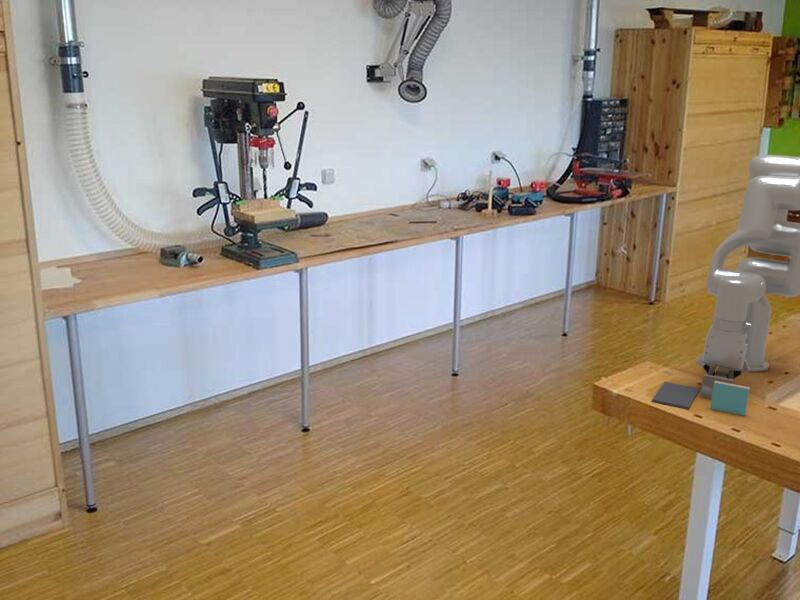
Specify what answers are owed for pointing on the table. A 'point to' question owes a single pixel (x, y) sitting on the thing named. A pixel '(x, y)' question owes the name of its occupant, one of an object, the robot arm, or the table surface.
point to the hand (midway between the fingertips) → (719, 390)
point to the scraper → (709, 381)
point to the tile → (730, 398)
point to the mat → (676, 395)
